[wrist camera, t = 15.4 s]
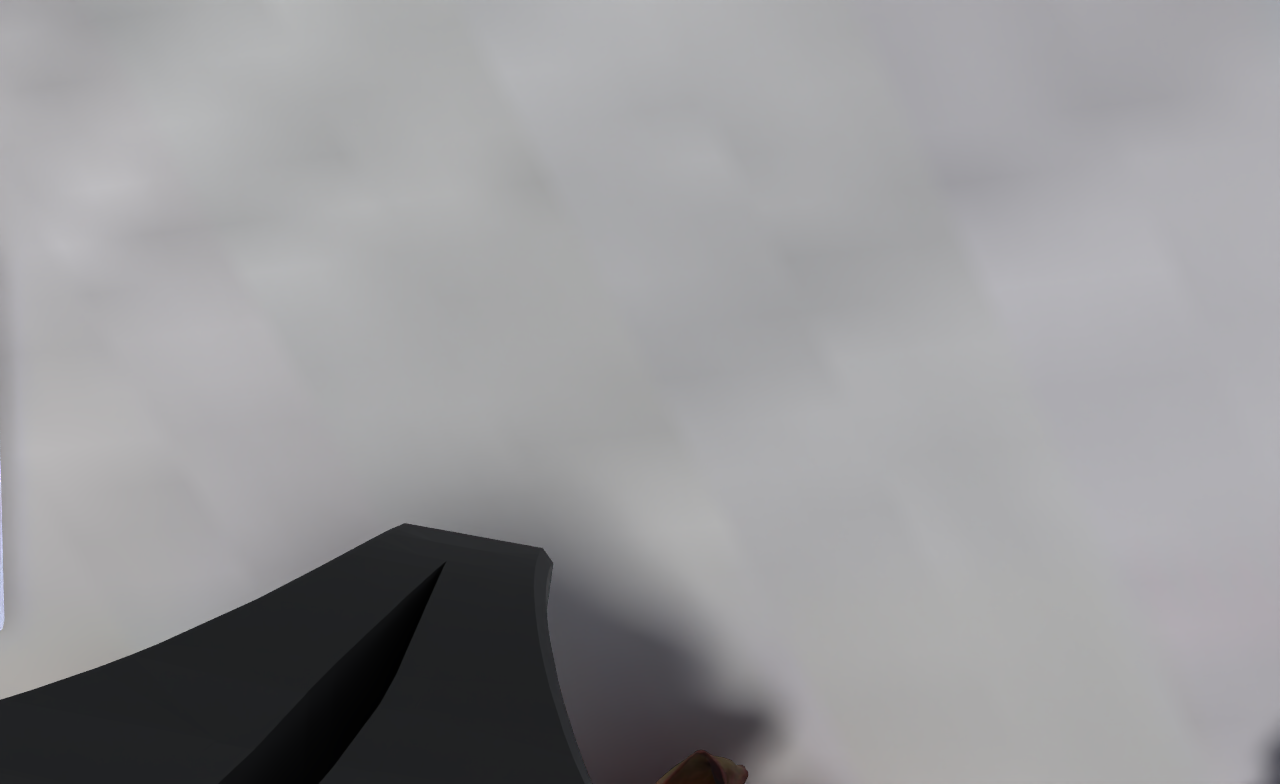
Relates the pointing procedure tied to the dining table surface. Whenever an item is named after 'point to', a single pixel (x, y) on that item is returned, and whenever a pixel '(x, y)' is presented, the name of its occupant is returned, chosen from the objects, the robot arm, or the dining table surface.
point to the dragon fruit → (705, 771)
